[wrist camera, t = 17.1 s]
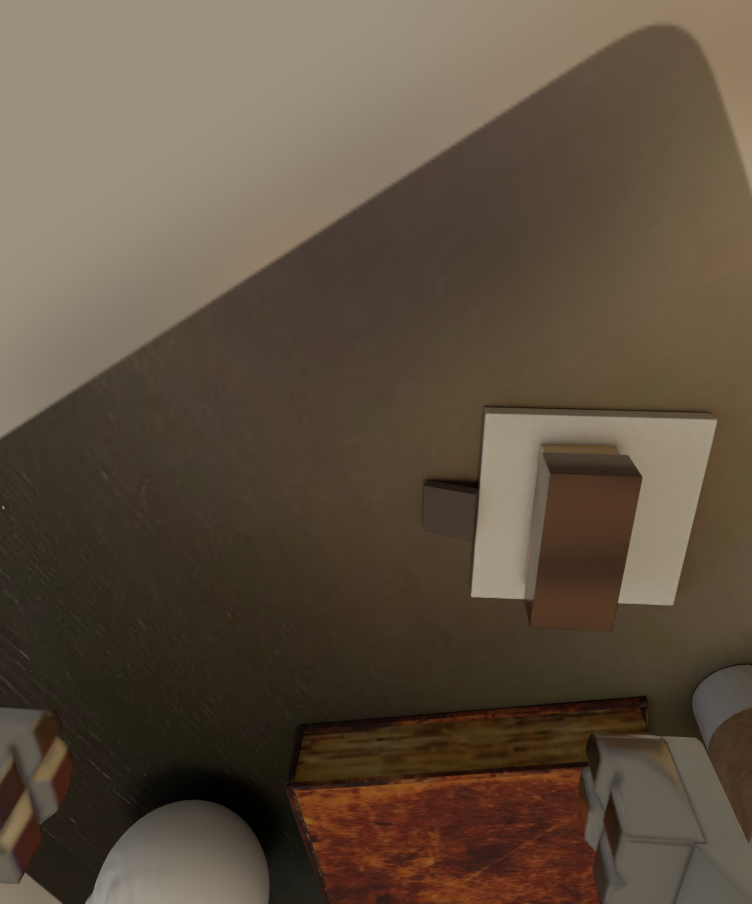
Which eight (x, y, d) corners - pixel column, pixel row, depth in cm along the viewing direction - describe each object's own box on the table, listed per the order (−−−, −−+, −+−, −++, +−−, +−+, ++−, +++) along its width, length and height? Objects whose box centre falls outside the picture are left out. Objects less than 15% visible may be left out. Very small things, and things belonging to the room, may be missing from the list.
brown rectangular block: (537, 440, 35) (550, 473, 32) (620, 442, 35) (643, 476, 32) (520, 583, 39) (530, 628, 36) (595, 586, 39) (612, 632, 36)
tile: (483, 406, 36) (485, 413, 35) (710, 412, 35) (718, 419, 34) (470, 587, 41) (471, 597, 40) (667, 595, 40) (673, 606, 39)
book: (295, 725, 47) (282, 787, 42) (645, 696, 44) (671, 760, 39) (371, 966, 59) (367, 1035, 54) (650, 958, 56) (670, 1030, 51)
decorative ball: (122, 758, 50) (38, 929, 39) (280, 769, 49) (240, 947, 38) (142, 860, 55) (73, 1037, 44) (286, 871, 54) (252, 1053, 43)
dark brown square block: (428, 479, 38) (423, 485, 37) (479, 488, 37) (476, 494, 36) (426, 524, 39) (422, 530, 39) (475, 534, 38) (472, 541, 38)
